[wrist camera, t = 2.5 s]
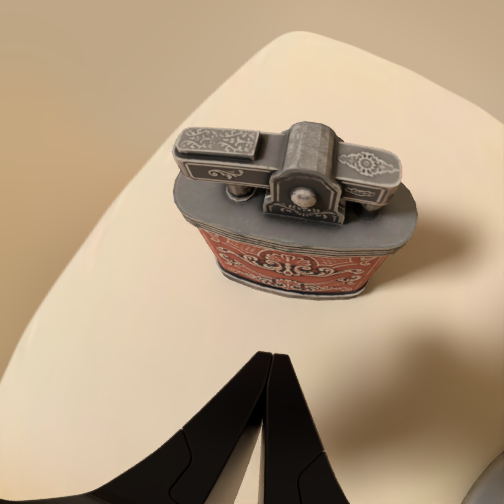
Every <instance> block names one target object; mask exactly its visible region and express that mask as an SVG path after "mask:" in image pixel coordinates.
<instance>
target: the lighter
mask: <svg viewBox="0 0 504 504" xmlns="http://www.w3.org/2000/svg"><path fill="white" fill-rule="evenodd" d="M172 154H173V157H174V159H175V161H176V163H177V165H178V167H179V168H180V172H179V174H178V176H177V178H176V179H175V184H174V189H173V195H174V202H175V204H176V205H177V207H178V209H179V210H180V212H181V213H182V215H183V216H184V218H185V219H186V221H187V222H189V223H190V224H192V225H193V226H195V227H197V228H198V230H199V231H200V233H201V234H202V236H203V237H204V239H205V241H206V242H207V244H208V245H209V247H210V248H211V250H212V251H213V253H214V255H215V259H216V264H217V266H218V267H219V269H220V270H221V272H222V273H223V275H224V276H225V277H227V278H228V279H230V280H232V281H235V282H237V283H240V284H243V285H245V286H248V287H250V288H253V289H255V290H259V291H263V292H267V293H271V294H275V295H279V296H283V297H287V298H296V299H307V300H317V301H321V300H348V299H352V298H355V297H356V296H358V295H359V294H360V293H361V292H362V291H363V290H364V289H365V288H366V286H367V285H368V283H369V280H370V277H371V276H372V275H373V273H374V272H375V271H376V270H377V269H378V268H379V266H380V265H381V264H382V263H383V262H384V260H385V259H386V258H387V257H388V256H389V255H391V254H394V253H396V252H397V251H398V250H399V249H401V248H402V247H403V246H404V245H405V244H406V242H407V241H408V240H409V239H410V237H411V236H412V234H413V232H414V230H415V228H416V223H417V216H418V214H417V208H416V203H415V201H414V199H413V197H412V195H411V193H410V191H409V190H408V189H407V188H406V186H405V185H404V184H403V183H402V182H401V179H402V166H401V161H400V159H399V158H398V157H397V155H395V154H394V153H392V152H390V151H387V150H384V149H379V148H374V147H368V146H363V145H357V144H352V143H346V142H344V141H343V140H342V139H341V138H339V137H338V136H337V135H336V134H335V132H334V131H333V130H332V129H331V128H330V127H328V126H326V125H324V124H321V123H314V122H306V121H304V122H299V123H296V124H294V125H292V126H291V127H290V129H289V130H286V131H283V132H281V134H279V133H269V132H260V131H254V130H241V129H226V128H206V127H188V128H185V129H184V130H183V131H182V132H181V133H180V134H179V136H178V137H177V139H176V141H175V143H174V146H173V150H172Z"/></svg>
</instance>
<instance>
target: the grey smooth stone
mask: <svg viewBox="0 0 504 504" xmlns="http://www.w3.org/2000/svg"><path fill="white" fill-rule="evenodd" d="M461 504H504V452H503V453H502V454H501V455H499V456H498V457H497V458H496V459H495V460H494V461H493V462H492V463H491V464H490V465H489V466H488V468H487V469H486V470H485V471H484V472H483V473H482V474H481V476H480V477H479V478H478V479H477V481H476V482H475V483H474V485H473V486H472V487H471V489H470V490H469V492H468V493H467V495H466V496H465V498H464V500H463V502H462V503H461Z"/></svg>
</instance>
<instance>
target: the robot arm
mask: <svg viewBox="0 0 504 504" xmlns="http://www.w3.org/2000/svg"><path fill="white" fill-rule="evenodd" d="M262 422H263V424H262ZM261 426H262V436H261V456H260V475H259V493H258V504H350V503H349V502H348V500H347V498H346V496H345V494H344V493H343V491H342V489H341V487H340V485H339V483H338V481H337V479H336V477H335V474H334V472H333V470H332V467H331V465H330V462H329V460H328V457H327V455H326V452H324V447H323V444H322V442H321V439H320V437H319V434H318V431H317V429H316V426H315V423H314V421H313V418H312V415H311V413H310V410H309V408H308V405H307V402H306V400H305V397H304V394H303V392H302V389H301V386H300V384H299V381H298V378H297V376H296V373H295V371H294V368H293V365H292V363H291V360H290V357H289V356H288V355H286V354H278V353H275V354H272V353H270V352H263V351H258V352H257V353H256V354H255V355H254V356H253V357H252V358H251V359H250V360H249V361H248V362H247V363H246V364H245V365H244V366H243V367H242V368H241V369H240V370H239V371H238V372H237V373H236V375H235V376H234V377H233V378H232V379H231V380H230V381H229V382H228V383H227V384H226V385H225V386H224V387H223V388H222V389H221V390H220V391H219V392H218V393H217V394H216V395H215V396H214V397H213V398H212V399H211V400H210V401H209V402H208V403H207V404H206V405H205V406H204V407H203V408H202V409H201V410H200V411H199V412H198V413H197V414H195V415H194V416H193V417H192V418H191V419H190V420H189V421H188V422H187V423H186V424H185V425H184V426H183V427H182V429H183V430H182V429H180V430H179V431H177V432H176V433H175V434H174V435H173V436H172V437H171V438H170V439H169V440H168V441H166V442H165V443H164V444H163V445H162V446H161V447H159V448H158V449H157V450H156V451H154V452H153V453H152V454H150V455H149V456H148V457H146V458H145V459H143V460H142V461H141V462H139V463H138V464H136V465H135V466H133V467H131V468H130V469H128V470H127V471H125V472H124V473H122V474H121V475H119V476H118V477H116V478H114V479H113V480H111V481H110V482H108V483H106V484H105V485H103V486H101V487H99V488H97V489H95V490H93V491H90V492H87V493H83V494H79V495H73V496H66V497H58V498H49V499H38V500H24V501H9V500H3V499H0V504H234V501H235V499H236V496H237V493H238V491H239V488H240V486H241V483H242V480H243V478H244V475H245V472H246V470H247V467H248V464H249V461H250V459H251V456H252V453H253V450H254V447H255V444H256V442H257V439H258V436H259V433H260V430H261Z"/></svg>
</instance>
